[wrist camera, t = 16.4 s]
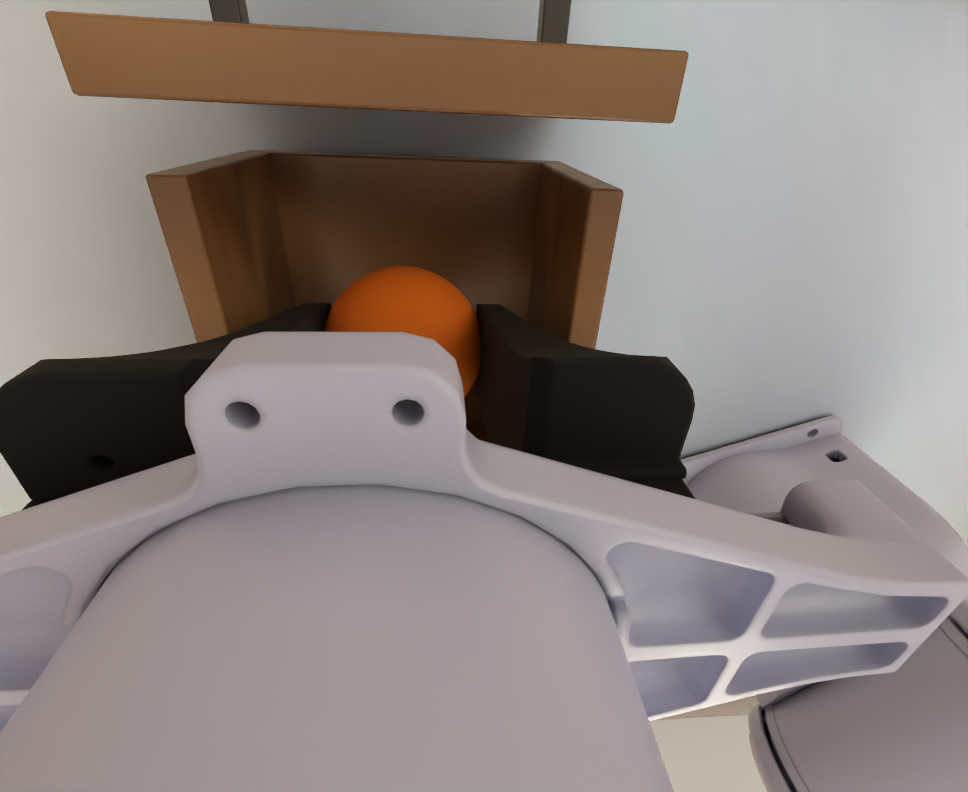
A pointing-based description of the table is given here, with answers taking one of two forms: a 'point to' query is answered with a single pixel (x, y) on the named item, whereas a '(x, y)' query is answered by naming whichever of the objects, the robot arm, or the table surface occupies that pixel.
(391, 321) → the ball
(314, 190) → the drawer
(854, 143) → the table surface
